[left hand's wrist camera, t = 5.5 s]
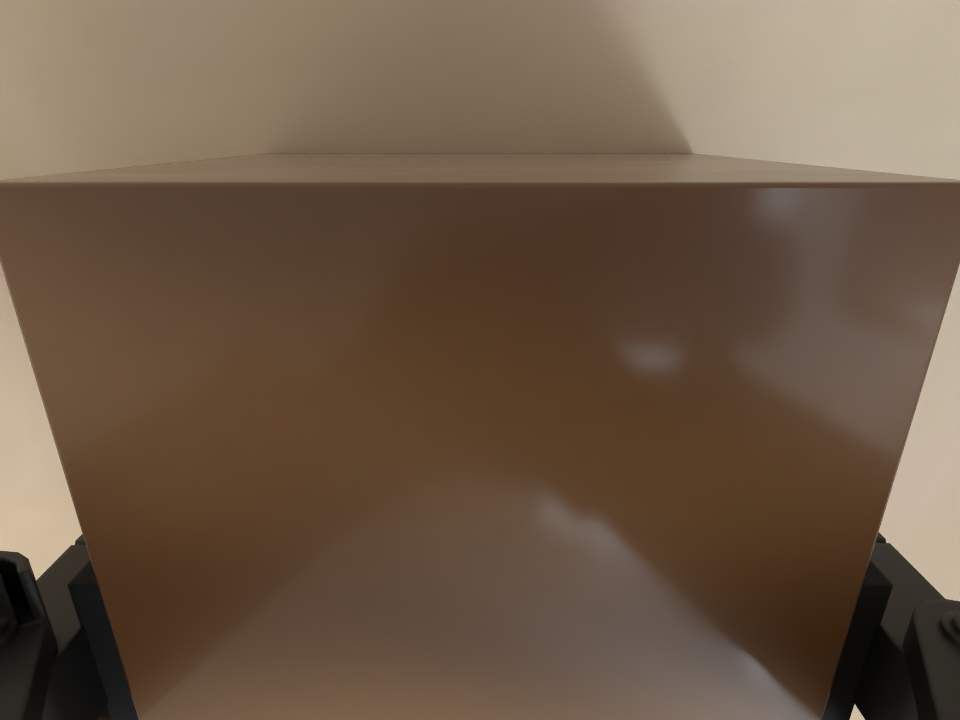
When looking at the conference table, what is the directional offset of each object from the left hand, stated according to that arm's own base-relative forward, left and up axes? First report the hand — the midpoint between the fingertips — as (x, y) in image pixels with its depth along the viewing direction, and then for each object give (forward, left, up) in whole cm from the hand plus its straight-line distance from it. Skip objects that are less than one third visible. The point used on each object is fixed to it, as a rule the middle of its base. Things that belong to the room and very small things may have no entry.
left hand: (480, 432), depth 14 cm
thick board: (+23, +25, 0) cm, 34 cm away
